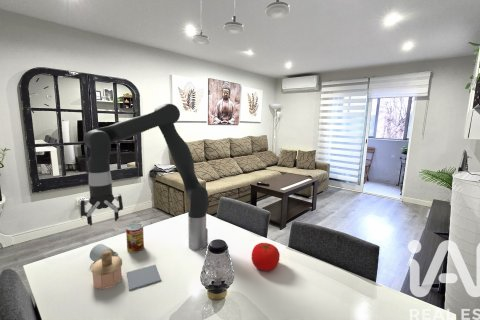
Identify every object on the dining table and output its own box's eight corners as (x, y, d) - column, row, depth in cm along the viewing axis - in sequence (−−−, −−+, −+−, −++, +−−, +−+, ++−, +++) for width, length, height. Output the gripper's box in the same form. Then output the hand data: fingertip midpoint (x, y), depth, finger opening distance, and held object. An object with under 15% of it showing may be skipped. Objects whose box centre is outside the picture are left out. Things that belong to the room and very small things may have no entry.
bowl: (120, 269, 104) (119, 257, 104) (122, 283, 96) (121, 269, 95) (94, 276, 99) (93, 263, 99) (93, 291, 91) (92, 277, 90)
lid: (121, 256, 104) (120, 243, 103) (123, 270, 95) (122, 255, 94) (91, 263, 99) (90, 249, 98) (90, 278, 89) (89, 263, 88)
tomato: (253, 256, 118) (254, 236, 116) (279, 259, 115) (280, 239, 114) (248, 273, 104) (249, 251, 102) (278, 278, 101) (279, 255, 100)
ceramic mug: (101, 268, 105) (100, 252, 104) (89, 263, 108) (88, 247, 107) (122, 257, 114) (121, 242, 113) (111, 253, 118) (110, 238, 117)
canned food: (133, 254, 117) (132, 231, 115) (124, 249, 121) (122, 227, 119) (147, 247, 123) (146, 225, 121) (137, 243, 127) (136, 222, 126)
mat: (155, 265, 108) (155, 264, 108) (161, 281, 98) (161, 279, 98) (126, 273, 102) (126, 272, 102) (129, 290, 92) (129, 289, 92)
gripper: (120, 178, 98) (122, 216, 100) (79, 182, 91) (82, 222, 93) (121, 182, 91) (124, 222, 94) (77, 187, 84) (81, 230, 87)
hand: (103, 222), depth 94 cm, fingers open, 8 cm apart
